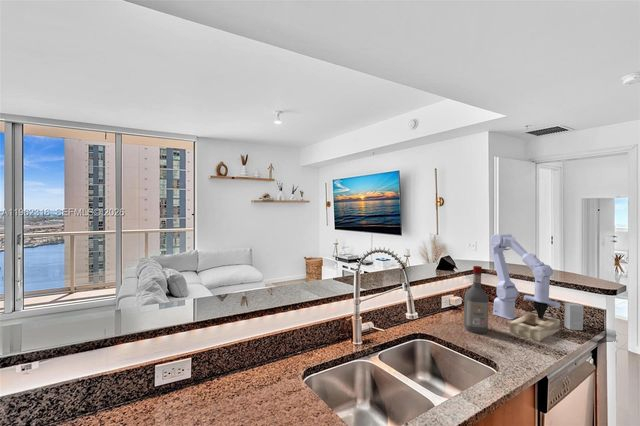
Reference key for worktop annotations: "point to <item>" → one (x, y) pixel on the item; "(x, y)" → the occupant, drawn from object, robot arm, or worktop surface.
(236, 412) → the worktop surface
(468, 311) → the liquor
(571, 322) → the skincare box
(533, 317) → the walnut peg
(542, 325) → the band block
